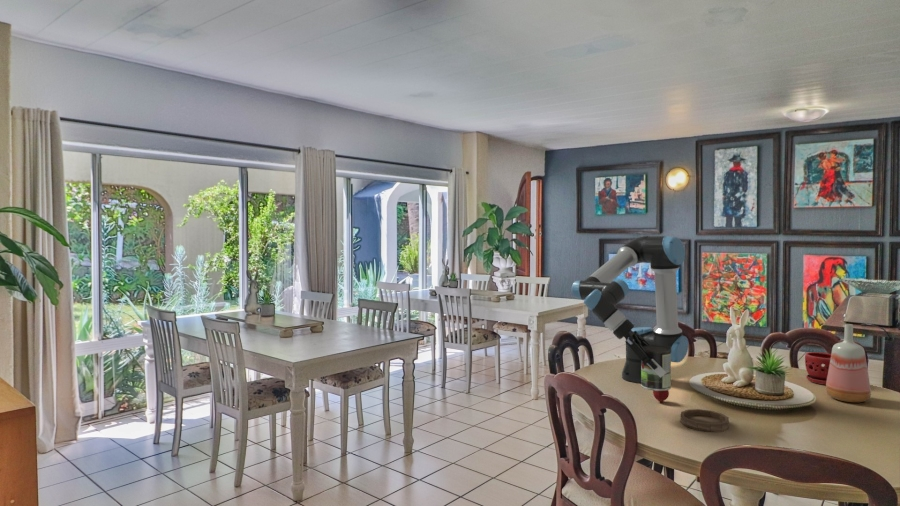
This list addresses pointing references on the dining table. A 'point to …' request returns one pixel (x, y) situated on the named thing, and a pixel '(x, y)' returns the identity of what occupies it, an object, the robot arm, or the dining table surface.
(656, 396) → the onion
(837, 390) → the vase
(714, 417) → the tray
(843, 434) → the dining table surface
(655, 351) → the coffee can
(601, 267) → the robot arm
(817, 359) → the plant pot
